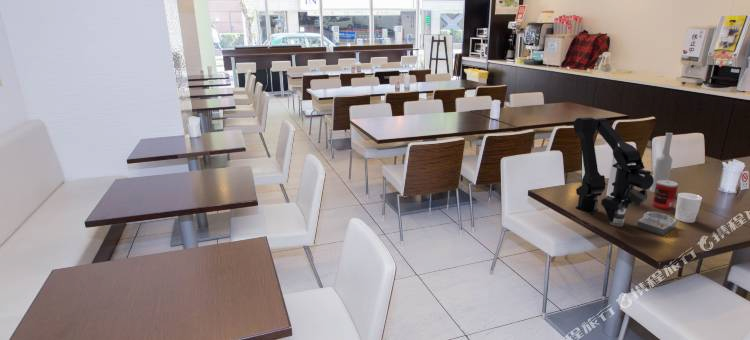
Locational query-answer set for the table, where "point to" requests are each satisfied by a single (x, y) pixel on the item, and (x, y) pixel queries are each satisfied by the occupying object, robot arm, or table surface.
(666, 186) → the canned food
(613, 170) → the milk
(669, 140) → the bottle
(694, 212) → the white cup
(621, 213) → the lens
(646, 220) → the camera body
